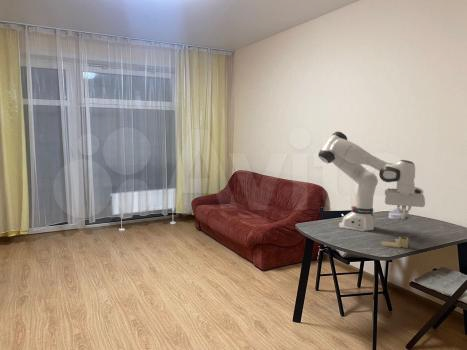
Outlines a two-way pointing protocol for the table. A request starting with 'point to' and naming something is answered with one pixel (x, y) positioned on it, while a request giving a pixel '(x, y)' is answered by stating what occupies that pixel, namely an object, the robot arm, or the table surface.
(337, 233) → the table surface
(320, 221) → the table surface
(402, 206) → the pin
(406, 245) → the hinge leaves
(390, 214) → the wedge on round base
